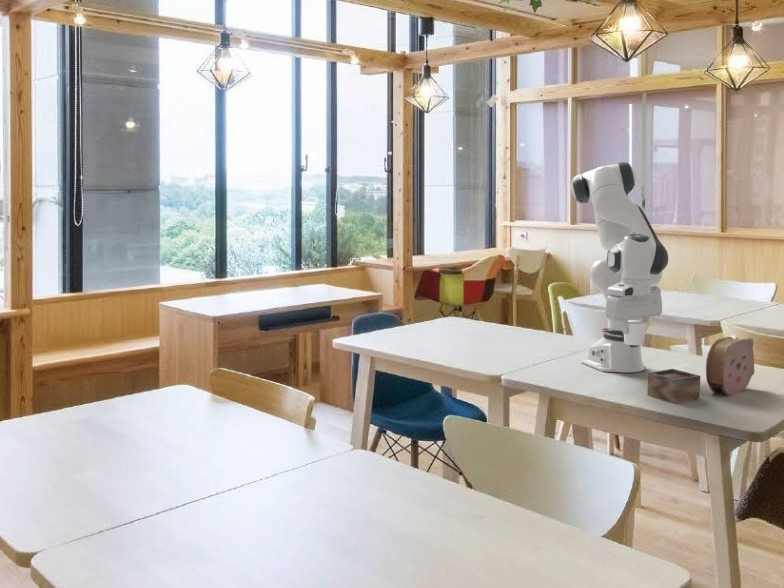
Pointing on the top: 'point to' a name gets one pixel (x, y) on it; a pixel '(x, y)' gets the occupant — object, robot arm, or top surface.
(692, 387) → the wooden box
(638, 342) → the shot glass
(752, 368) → the face sculpture
